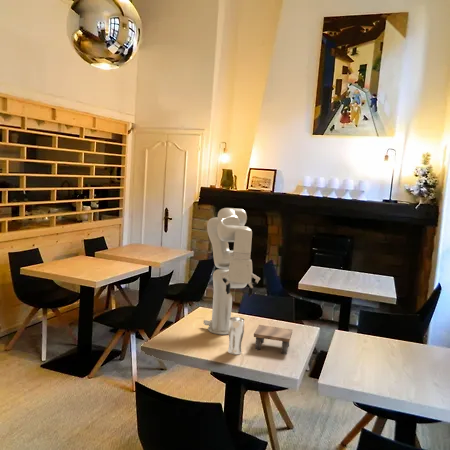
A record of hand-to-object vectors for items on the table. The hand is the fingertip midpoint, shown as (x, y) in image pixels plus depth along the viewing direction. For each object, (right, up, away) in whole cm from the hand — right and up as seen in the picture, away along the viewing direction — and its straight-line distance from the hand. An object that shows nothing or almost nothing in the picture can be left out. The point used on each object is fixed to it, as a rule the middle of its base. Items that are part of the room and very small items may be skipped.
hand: (238, 294), depth 192 cm
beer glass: (-2, -26, +2) cm, 26 cm away
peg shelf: (+16, -26, +11) cm, 33 cm away
